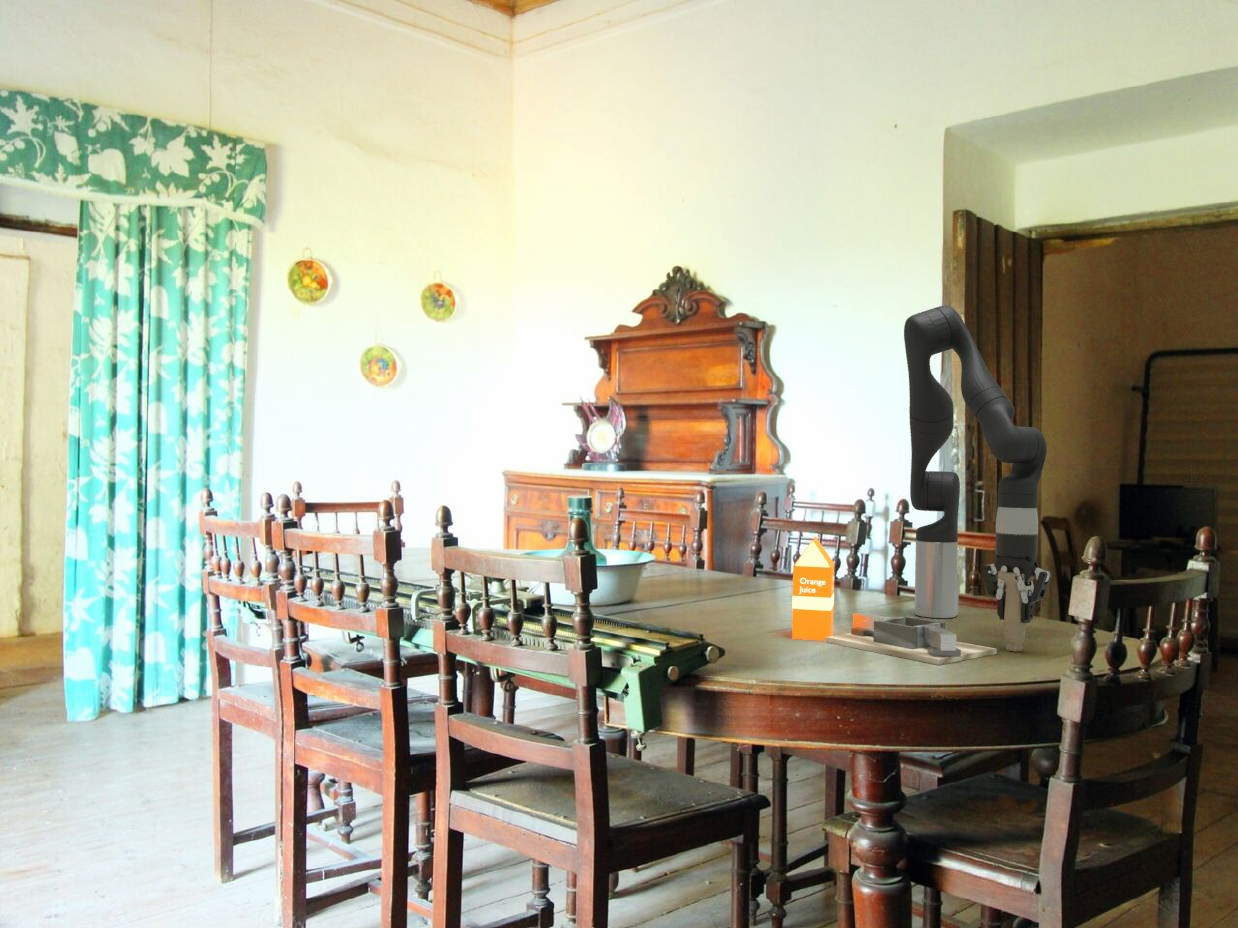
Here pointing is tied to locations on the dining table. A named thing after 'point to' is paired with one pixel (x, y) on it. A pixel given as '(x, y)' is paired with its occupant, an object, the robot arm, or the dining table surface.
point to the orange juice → (813, 594)
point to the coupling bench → (907, 641)
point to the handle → (1013, 612)
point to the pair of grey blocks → (932, 635)
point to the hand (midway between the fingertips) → (1014, 620)
